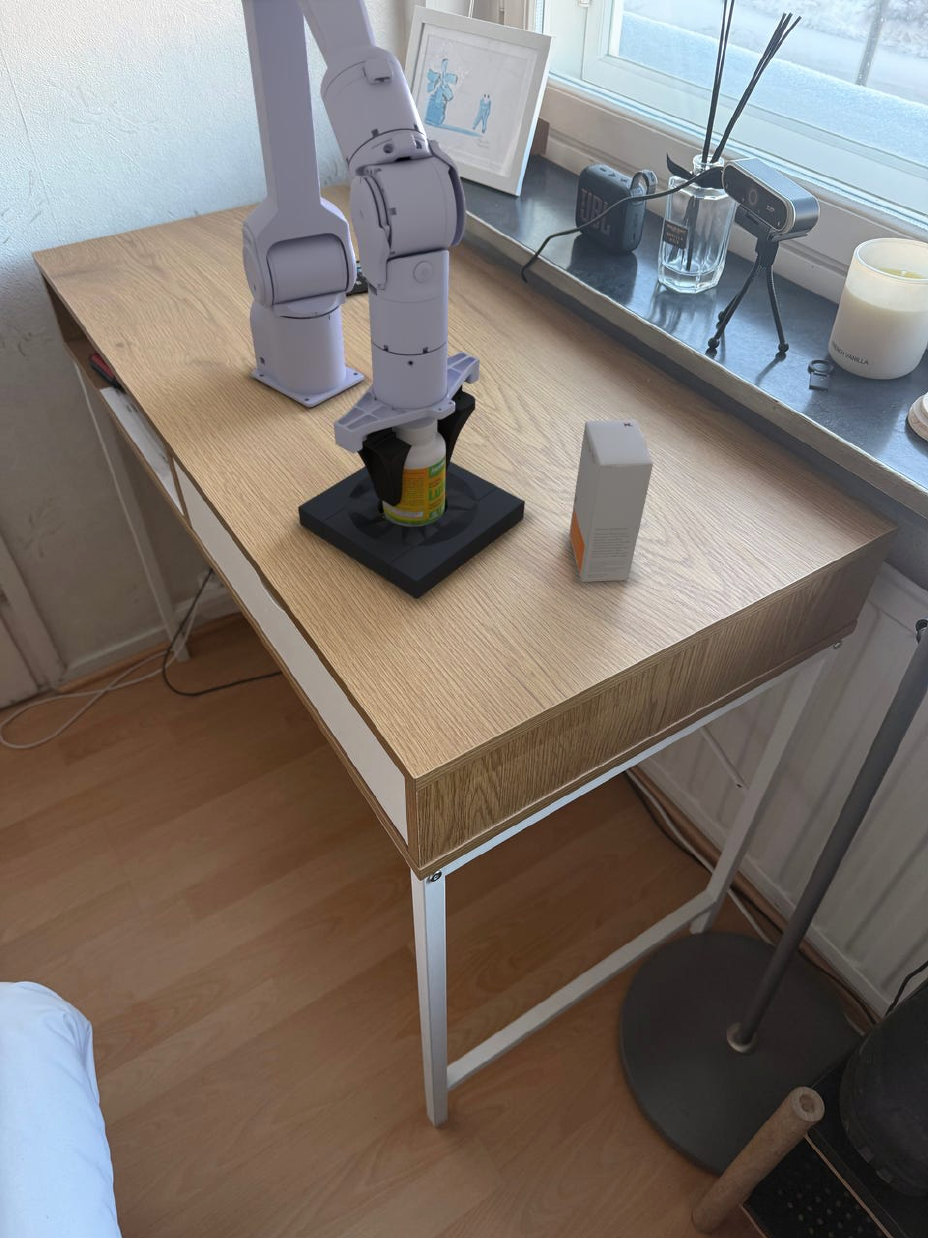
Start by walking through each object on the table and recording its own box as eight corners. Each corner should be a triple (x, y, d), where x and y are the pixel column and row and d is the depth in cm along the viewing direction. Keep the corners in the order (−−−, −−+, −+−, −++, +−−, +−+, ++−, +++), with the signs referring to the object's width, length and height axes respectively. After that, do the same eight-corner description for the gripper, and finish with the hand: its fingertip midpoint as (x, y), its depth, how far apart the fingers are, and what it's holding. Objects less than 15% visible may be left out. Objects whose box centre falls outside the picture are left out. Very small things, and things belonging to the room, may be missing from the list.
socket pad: (300, 524, 76) (297, 506, 75) (409, 456, 84) (409, 438, 82) (417, 599, 70) (416, 581, 68) (523, 518, 78) (525, 500, 76)
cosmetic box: (566, 536, 76) (584, 418, 67) (614, 535, 76) (637, 417, 68) (579, 584, 72) (599, 464, 63) (629, 582, 72) (656, 463, 63)
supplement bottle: (437, 535, 74) (437, 438, 67) (375, 526, 74) (370, 429, 67) (450, 497, 77) (452, 402, 71) (392, 488, 78) (388, 393, 71)
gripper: (378, 393, 58) (386, 546, 68) (512, 320, 66) (501, 466, 76) (307, 357, 62) (324, 508, 71) (443, 291, 69) (442, 435, 79)
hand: (412, 484), depth 74 cm, fingers closed on supplement bottle, 5 cm apart
